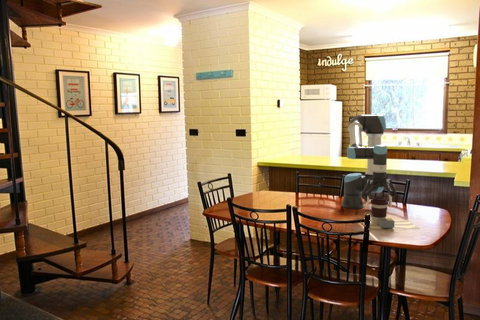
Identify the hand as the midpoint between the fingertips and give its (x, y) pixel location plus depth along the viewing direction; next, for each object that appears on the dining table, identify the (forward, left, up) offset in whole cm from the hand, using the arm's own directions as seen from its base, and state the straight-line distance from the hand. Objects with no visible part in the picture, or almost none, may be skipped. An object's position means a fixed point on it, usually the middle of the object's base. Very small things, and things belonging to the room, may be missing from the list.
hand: (378, 206), depth 236 cm
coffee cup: (0, 0, -10) cm, 10 cm away
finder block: (+10, +1, -10) cm, 14 cm away
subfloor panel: (+4, +5, -11) cm, 13 cm away
